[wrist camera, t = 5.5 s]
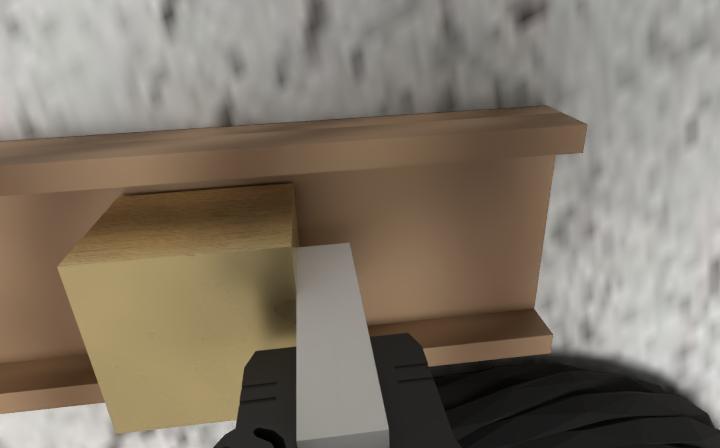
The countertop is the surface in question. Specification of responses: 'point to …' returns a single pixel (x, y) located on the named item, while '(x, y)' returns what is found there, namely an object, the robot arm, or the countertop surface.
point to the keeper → (184, 299)
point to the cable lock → (568, 410)
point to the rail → (303, 225)
